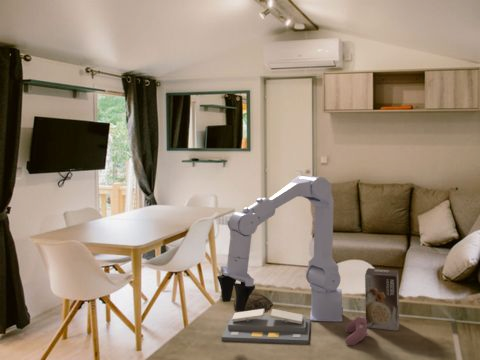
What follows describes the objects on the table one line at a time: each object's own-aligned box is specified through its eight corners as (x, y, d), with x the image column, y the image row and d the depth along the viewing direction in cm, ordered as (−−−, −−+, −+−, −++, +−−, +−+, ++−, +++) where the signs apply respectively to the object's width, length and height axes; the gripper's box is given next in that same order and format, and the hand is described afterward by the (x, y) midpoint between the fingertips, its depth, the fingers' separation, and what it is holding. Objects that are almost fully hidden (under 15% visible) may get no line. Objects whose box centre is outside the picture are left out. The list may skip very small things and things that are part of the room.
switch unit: (309, 322, 156) (309, 314, 156) (308, 343, 141) (308, 335, 141) (231, 319, 160) (230, 311, 160) (221, 340, 145) (221, 331, 145)
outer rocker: (265, 312, 154) (264, 308, 154) (263, 319, 149) (262, 314, 149) (235, 316, 156) (234, 312, 156) (232, 323, 151) (232, 319, 151)
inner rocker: (302, 318, 153) (302, 314, 152) (301, 325, 148) (302, 321, 148) (271, 312, 154) (272, 308, 154) (270, 319, 149) (270, 315, 149)
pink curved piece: (359, 352, 139) (371, 330, 137) (343, 344, 139) (355, 322, 138) (358, 336, 148) (369, 316, 147) (344, 329, 149) (355, 308, 148)
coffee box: (399, 323, 153) (400, 270, 151) (397, 331, 147) (398, 276, 145) (368, 319, 157) (367, 267, 155) (364, 327, 151) (364, 273, 149)
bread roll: (230, 312, 166) (229, 297, 166) (236, 299, 178) (236, 285, 178) (270, 314, 164) (269, 298, 164) (274, 300, 176) (273, 286, 176)
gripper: (213, 250, 146) (207, 298, 147) (239, 262, 134) (233, 314, 134) (234, 251, 150) (229, 297, 150) (262, 262, 137) (256, 313, 138)
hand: (233, 305), depth 142 cm, fingers open, 7 cm apart
